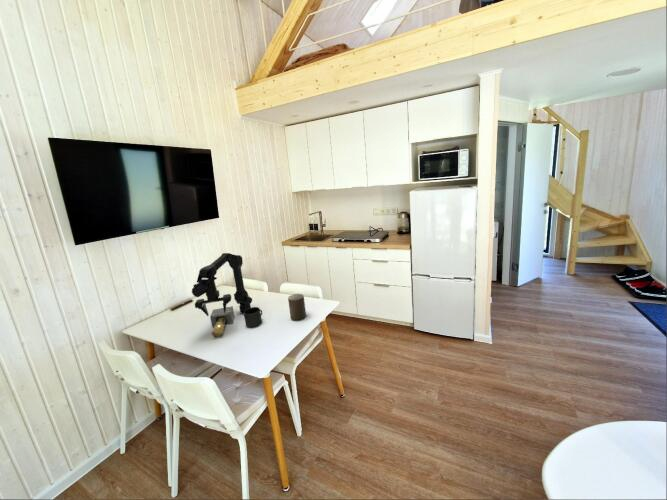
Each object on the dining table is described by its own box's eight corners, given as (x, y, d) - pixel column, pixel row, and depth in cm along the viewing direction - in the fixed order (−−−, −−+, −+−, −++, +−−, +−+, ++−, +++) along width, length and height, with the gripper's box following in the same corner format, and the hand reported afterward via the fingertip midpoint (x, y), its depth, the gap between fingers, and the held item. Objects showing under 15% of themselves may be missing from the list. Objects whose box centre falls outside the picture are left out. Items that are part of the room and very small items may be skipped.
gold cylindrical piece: (217, 326, 165) (215, 318, 164) (227, 324, 166) (225, 316, 165) (213, 338, 152) (211, 329, 150) (223, 336, 153) (221, 327, 152)
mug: (268, 320, 168) (266, 306, 166) (253, 329, 159) (250, 315, 156) (258, 317, 173) (256, 304, 171) (242, 326, 164) (240, 312, 162)
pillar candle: (303, 321, 163) (300, 298, 159) (288, 320, 165) (285, 297, 161) (308, 313, 172) (305, 291, 168) (293, 313, 174) (290, 291, 170)
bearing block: (215, 320, 175) (213, 309, 173) (234, 316, 177) (232, 305, 175) (212, 327, 165) (209, 316, 163) (232, 323, 168) (230, 312, 166)
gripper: (229, 281, 162) (234, 305, 166) (196, 287, 158) (202, 311, 162) (227, 288, 152) (232, 313, 156) (191, 294, 148) (198, 320, 152)
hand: (216, 314), depth 157 cm, fingers open, 9 cm apart
